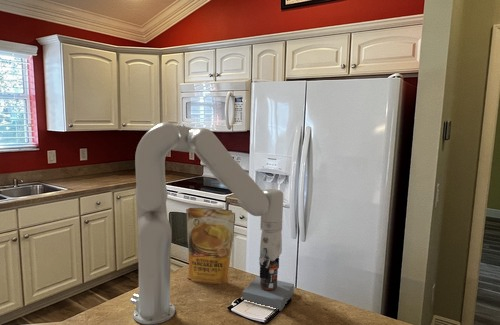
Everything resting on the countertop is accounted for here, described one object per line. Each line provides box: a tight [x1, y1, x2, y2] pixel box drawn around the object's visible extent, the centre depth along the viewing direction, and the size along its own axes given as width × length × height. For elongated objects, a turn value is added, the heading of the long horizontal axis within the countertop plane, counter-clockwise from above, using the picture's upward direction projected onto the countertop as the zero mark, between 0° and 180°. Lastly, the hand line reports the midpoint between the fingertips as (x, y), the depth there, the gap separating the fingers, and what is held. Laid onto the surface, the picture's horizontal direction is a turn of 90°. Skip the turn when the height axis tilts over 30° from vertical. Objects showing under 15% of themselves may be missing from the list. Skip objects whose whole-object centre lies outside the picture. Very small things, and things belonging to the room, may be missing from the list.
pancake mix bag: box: [185, 207, 236, 285], centre depth 130 cm, size 7×19×28 cm, turn 80°
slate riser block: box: [241, 275, 295, 312], centre depth 119 cm, size 14×14×4 cm
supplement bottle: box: [260, 257, 279, 291], centre depth 118 cm, size 6×6×11 cm
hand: (269, 273), depth 118 cm, fingers open, 9 cm apart
